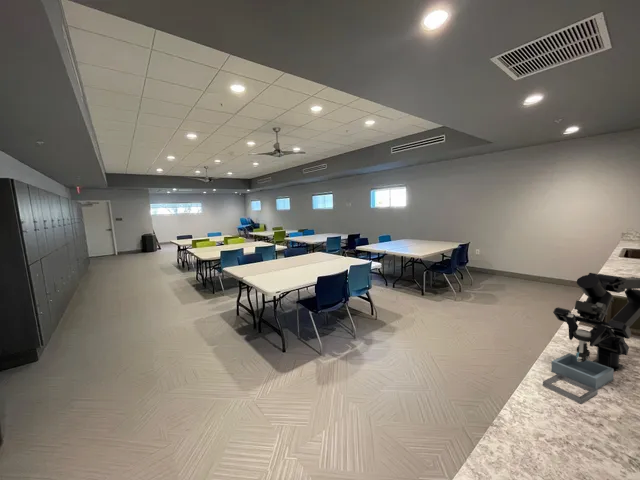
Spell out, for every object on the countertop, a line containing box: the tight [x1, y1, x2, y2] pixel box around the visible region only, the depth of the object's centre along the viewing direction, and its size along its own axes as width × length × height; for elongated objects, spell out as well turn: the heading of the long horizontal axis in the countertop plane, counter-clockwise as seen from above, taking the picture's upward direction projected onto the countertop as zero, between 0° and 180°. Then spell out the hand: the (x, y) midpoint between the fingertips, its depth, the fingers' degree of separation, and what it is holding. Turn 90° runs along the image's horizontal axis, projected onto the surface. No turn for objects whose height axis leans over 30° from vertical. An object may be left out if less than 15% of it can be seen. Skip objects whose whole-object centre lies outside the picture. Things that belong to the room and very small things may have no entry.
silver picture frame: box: [542, 373, 599, 405], centre depth 87 cm, size 10×10×2 cm
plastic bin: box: [550, 352, 615, 390], centre depth 94 cm, size 12×12×4 cm
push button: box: [573, 328, 594, 362], centre depth 92 cm, size 7×5×10 cm
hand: (580, 342), depth 92 cm, fingers closed on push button, 5 cm apart
